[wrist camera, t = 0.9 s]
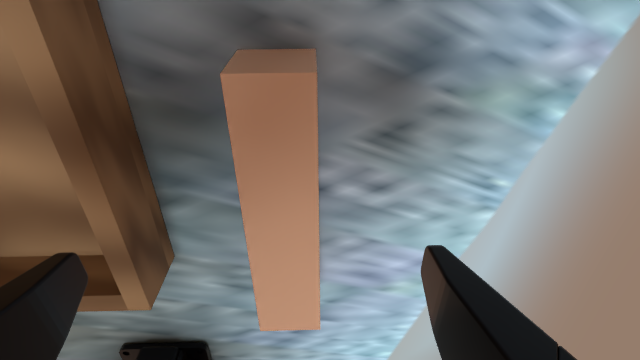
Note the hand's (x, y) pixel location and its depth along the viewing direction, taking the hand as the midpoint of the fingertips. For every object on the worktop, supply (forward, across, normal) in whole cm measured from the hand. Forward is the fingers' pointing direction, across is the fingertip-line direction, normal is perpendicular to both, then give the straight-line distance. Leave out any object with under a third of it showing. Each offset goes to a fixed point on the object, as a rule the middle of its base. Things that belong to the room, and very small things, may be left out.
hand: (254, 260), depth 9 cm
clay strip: (+10, 0, +4) cm, 11 cm away
